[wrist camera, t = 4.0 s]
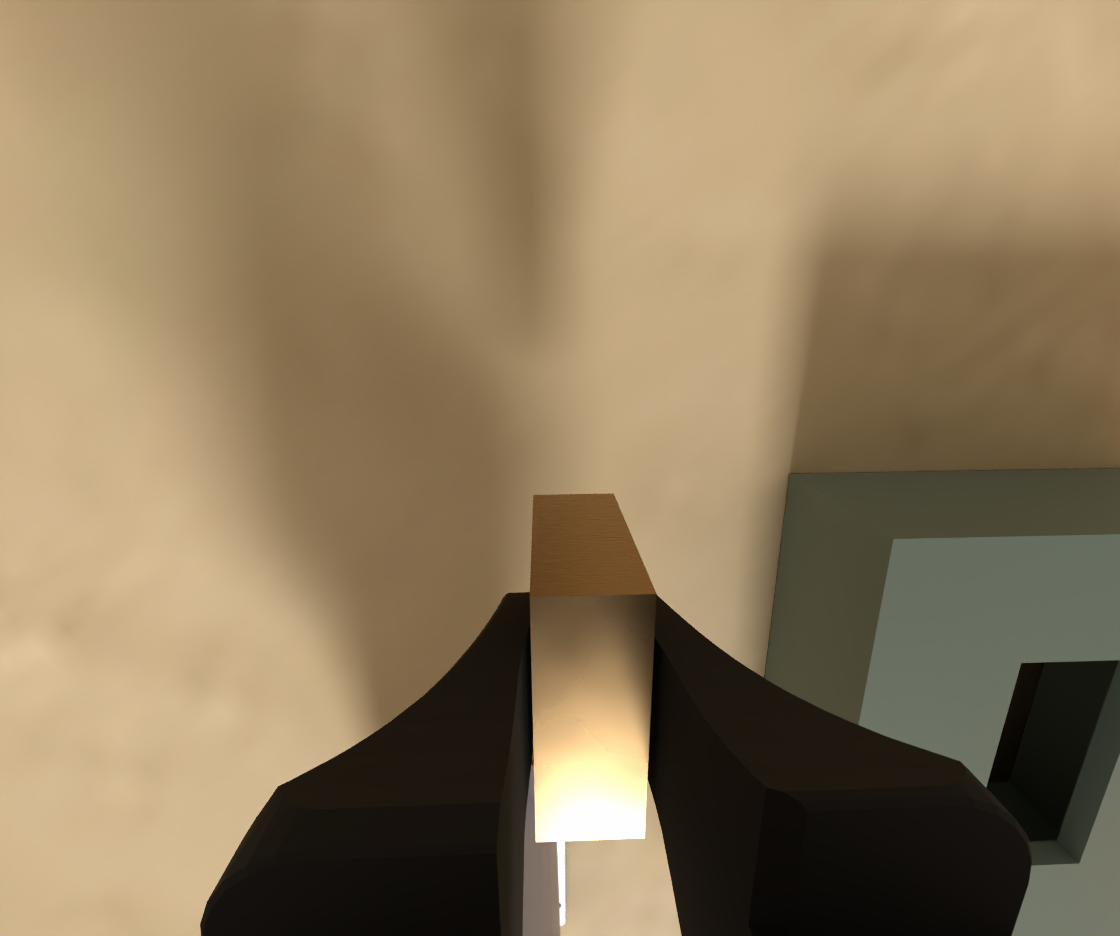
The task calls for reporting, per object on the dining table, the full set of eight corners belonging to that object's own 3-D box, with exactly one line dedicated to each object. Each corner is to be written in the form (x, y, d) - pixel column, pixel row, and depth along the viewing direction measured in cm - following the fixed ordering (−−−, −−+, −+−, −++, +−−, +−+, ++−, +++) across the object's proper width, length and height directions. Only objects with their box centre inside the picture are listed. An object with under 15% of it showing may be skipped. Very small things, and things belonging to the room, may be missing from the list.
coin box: (1021, 794, 24) (1169, 941, 19) (748, 804, 24) (814, 958, 18) (1122, 468, 20) (1358, 529, 14) (789, 473, 20) (893, 538, 14)
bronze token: (609, 665, 14) (644, 837, 10) (537, 667, 14) (535, 842, 10) (613, 493, 13) (656, 594, 8) (533, 495, 13) (529, 597, 8)
